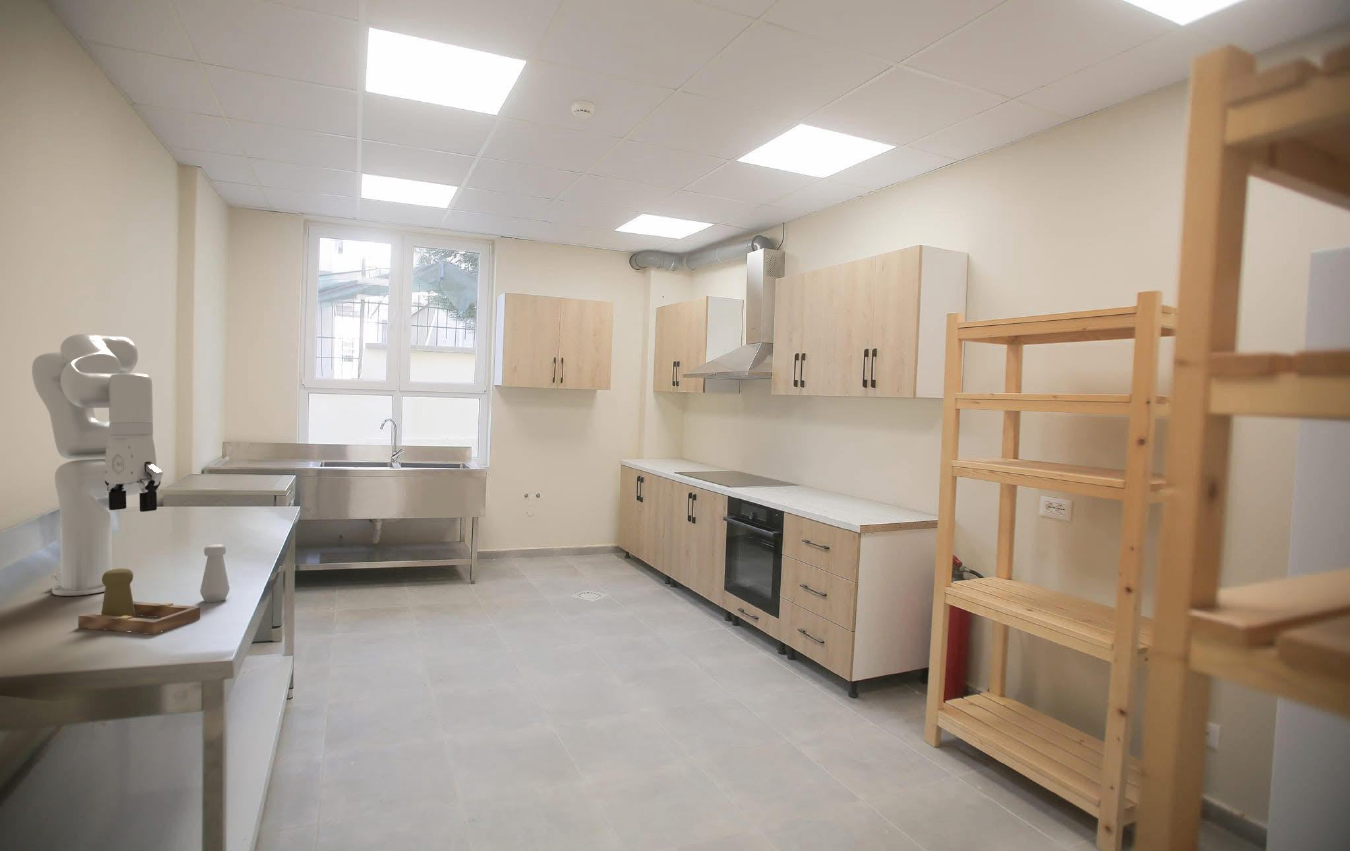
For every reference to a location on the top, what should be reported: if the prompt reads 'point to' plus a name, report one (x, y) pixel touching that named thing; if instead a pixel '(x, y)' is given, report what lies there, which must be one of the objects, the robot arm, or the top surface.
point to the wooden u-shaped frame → (168, 611)
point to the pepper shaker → (118, 593)
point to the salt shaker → (215, 575)
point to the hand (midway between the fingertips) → (132, 510)
